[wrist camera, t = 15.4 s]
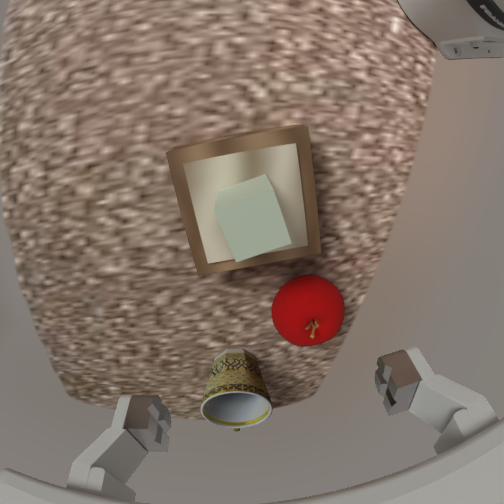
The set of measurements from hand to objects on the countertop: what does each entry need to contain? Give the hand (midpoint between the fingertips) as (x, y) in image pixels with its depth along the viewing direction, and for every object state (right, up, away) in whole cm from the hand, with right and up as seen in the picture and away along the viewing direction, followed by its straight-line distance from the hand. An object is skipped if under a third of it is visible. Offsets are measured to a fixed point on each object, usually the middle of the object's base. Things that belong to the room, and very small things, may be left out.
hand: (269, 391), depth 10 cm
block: (-1, +10, +20) cm, 22 cm away
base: (-1, +12, +25) cm, 27 cm away
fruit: (+6, 0, +31) cm, 32 cm away
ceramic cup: (-3, -14, +37) cm, 40 cm away
